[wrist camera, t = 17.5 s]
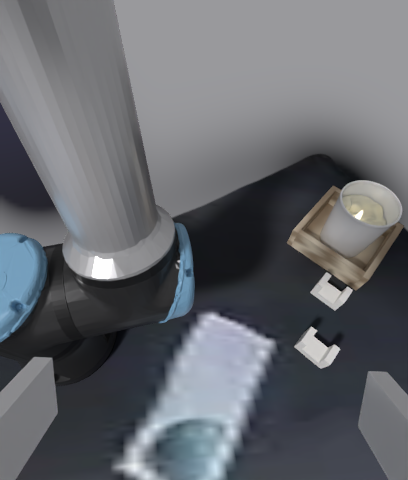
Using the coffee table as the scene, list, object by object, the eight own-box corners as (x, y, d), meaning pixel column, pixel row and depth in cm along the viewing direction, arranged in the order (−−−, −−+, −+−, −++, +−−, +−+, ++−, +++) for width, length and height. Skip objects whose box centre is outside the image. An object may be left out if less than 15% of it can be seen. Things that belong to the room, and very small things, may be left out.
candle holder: (359, 221, 60) (391, 180, 50) (372, 263, 55) (411, 227, 44) (311, 219, 60) (334, 179, 50) (320, 261, 55) (348, 225, 44)
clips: (278, 334, 48) (284, 327, 45) (318, 281, 53) (326, 271, 50) (320, 368, 45) (330, 364, 42) (358, 309, 51) (369, 301, 47)
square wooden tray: (286, 243, 58) (293, 229, 54) (324, 200, 64) (333, 185, 60) (355, 290, 52) (368, 279, 48) (389, 239, 58) (404, 225, 54)
